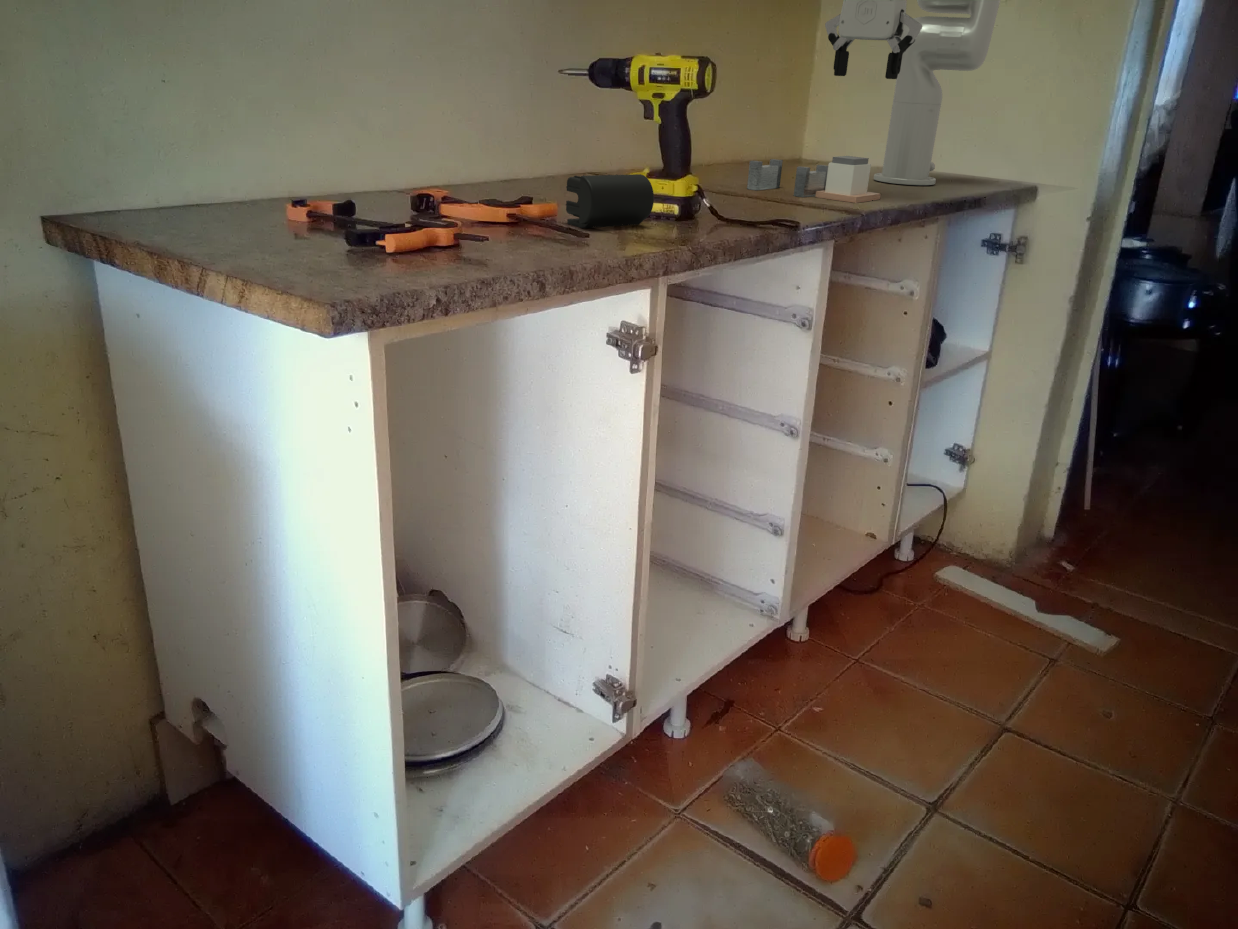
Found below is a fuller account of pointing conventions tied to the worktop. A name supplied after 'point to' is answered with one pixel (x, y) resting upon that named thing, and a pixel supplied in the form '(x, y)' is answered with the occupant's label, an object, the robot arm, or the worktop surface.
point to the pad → (853, 198)
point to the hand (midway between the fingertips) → (865, 77)
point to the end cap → (609, 200)
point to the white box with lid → (848, 175)
